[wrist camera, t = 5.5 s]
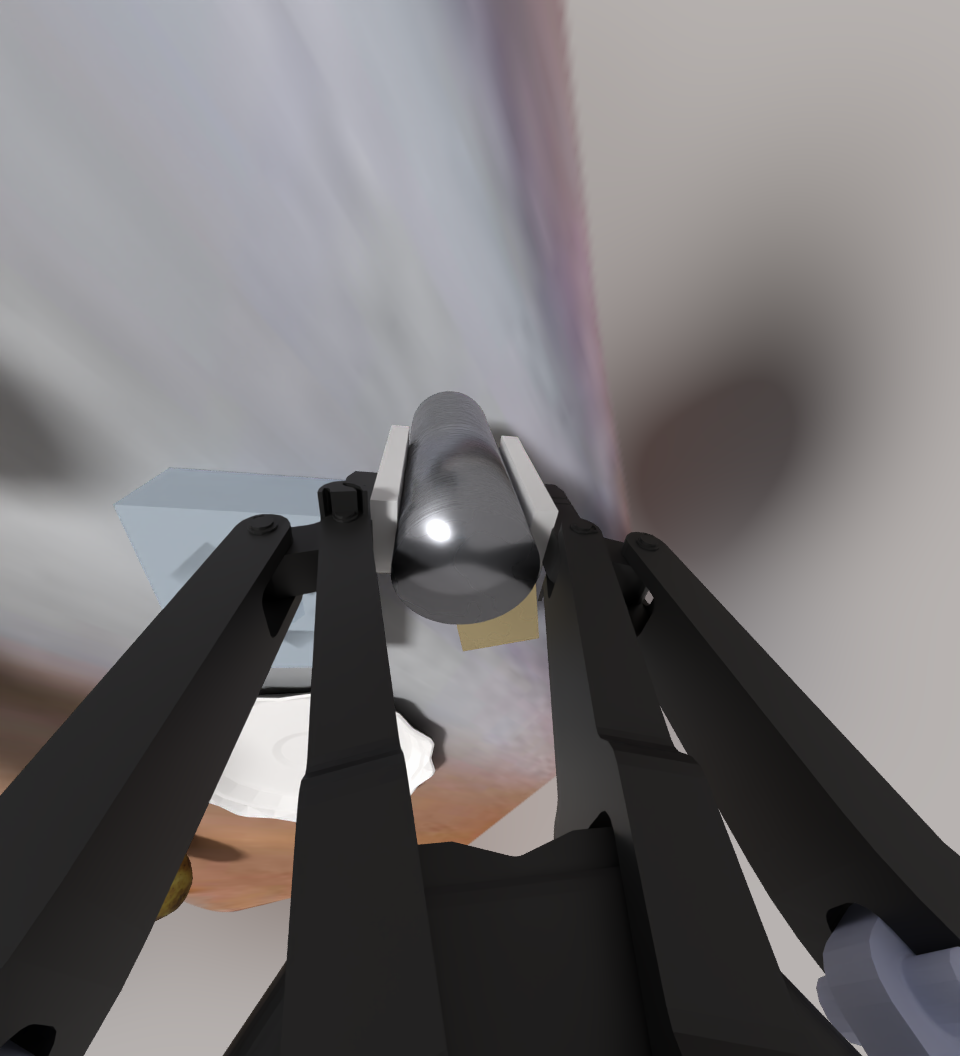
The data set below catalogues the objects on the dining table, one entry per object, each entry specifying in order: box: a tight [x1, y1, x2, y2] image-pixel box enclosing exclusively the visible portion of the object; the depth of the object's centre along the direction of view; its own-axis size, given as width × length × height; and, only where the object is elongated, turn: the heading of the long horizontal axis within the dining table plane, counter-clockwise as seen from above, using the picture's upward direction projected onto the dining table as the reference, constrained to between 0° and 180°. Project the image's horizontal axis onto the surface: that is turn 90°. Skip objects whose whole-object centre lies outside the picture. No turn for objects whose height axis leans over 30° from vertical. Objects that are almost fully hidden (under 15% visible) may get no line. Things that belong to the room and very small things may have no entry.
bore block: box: [113, 468, 345, 668], centre depth 26 cm, size 14×12×5 cm
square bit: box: [457, 584, 539, 651], centre depth 24 cm, size 5×5×10 cm
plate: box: [209, 692, 435, 822], centre depth 43 cm, size 29×29×2 cm
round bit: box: [391, 391, 540, 625], centre depth 15 cm, size 4×4×12 cm
